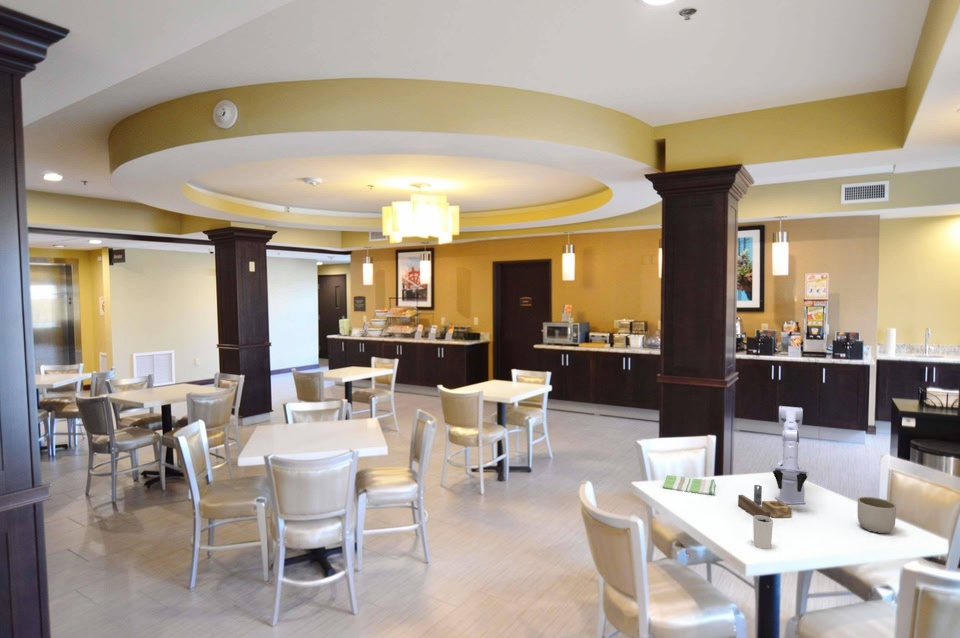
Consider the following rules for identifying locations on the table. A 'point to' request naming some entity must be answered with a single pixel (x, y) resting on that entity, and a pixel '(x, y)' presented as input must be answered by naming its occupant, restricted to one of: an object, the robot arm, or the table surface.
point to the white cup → (762, 531)
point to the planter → (876, 514)
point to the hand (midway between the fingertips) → (789, 490)
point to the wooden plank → (752, 507)
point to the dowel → (757, 494)
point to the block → (777, 508)
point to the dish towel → (690, 485)
